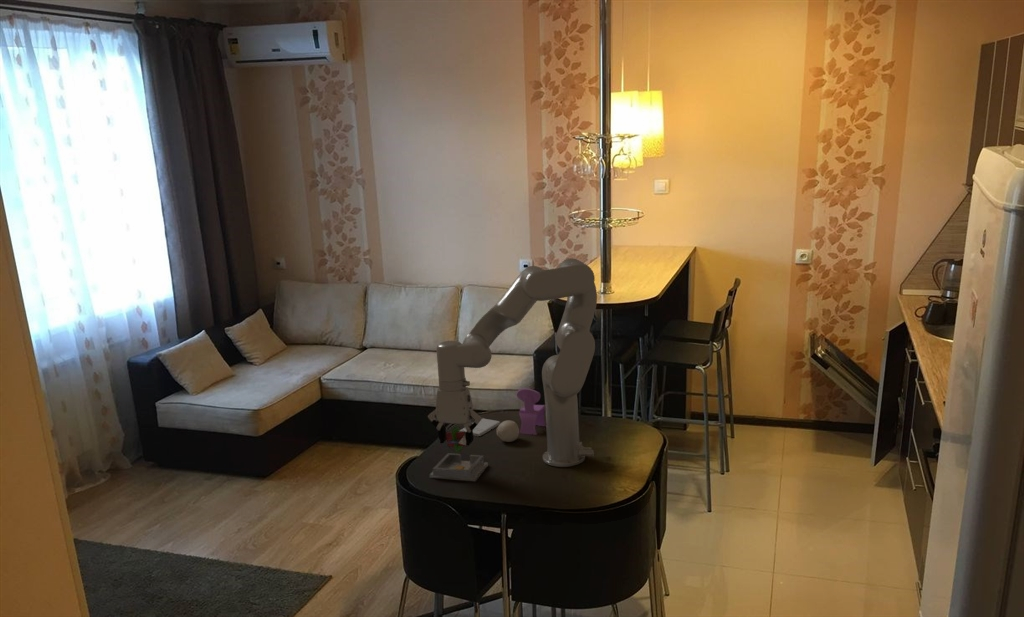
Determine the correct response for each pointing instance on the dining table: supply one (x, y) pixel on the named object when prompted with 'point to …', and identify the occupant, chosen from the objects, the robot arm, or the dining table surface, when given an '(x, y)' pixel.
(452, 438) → the geometric puzzle
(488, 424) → the external hard drive
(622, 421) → the dining table surface
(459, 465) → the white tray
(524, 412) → the toy chair
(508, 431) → the baseball
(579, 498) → the dining table surface
